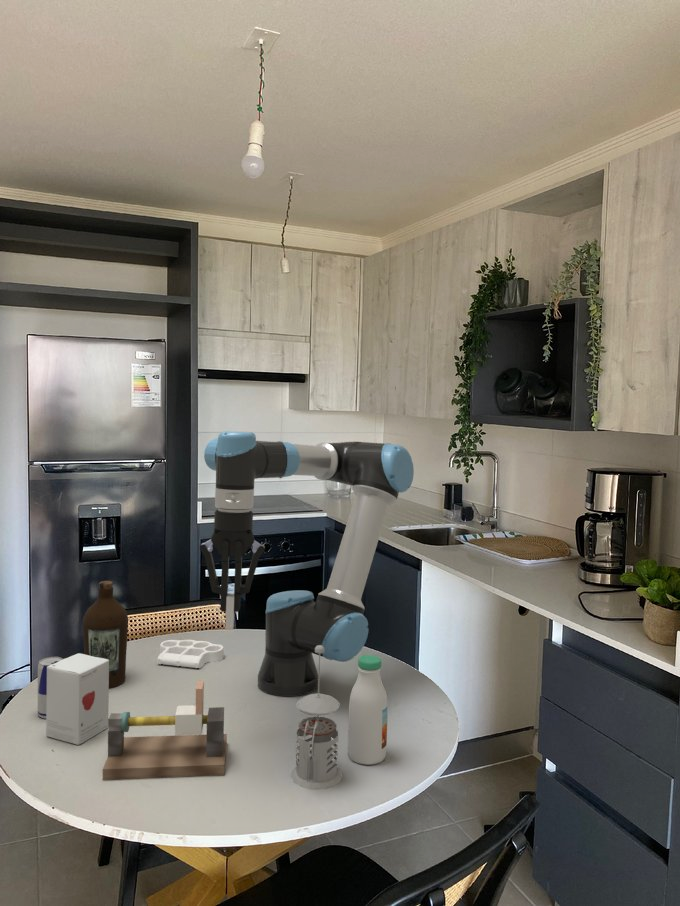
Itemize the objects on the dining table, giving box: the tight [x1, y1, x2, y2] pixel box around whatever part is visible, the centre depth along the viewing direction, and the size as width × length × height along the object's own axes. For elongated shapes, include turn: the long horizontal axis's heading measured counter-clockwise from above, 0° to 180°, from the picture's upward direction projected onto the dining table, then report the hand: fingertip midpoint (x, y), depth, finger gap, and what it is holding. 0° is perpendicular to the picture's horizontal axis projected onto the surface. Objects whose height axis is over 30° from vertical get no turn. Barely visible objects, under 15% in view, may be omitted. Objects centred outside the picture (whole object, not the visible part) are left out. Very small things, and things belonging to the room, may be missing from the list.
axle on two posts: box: [102, 706, 228, 781], centre depth 132 cm, size 22×12×10 cm, turn 97°
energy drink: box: [37, 656, 64, 720], centre depth 150 cm, size 5×5×12 cm
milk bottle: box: [347, 654, 388, 766], centre depth 135 cm, size 8×8×20 cm
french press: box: [290, 645, 343, 790], centre depth 127 cm, size 10×12×25 cm
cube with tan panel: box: [174, 680, 205, 736], centre depth 132 cm, size 5×4×9 cm
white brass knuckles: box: [156, 639, 224, 669], centre depth 185 cm, size 3×18×15 cm
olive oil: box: [82, 580, 129, 689], centre depth 168 cm, size 11×11×25 cm
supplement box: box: [45, 652, 110, 746], centre depth 142 cm, size 9×9×15 cm
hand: (229, 627), depth 135 cm, fingers closed
